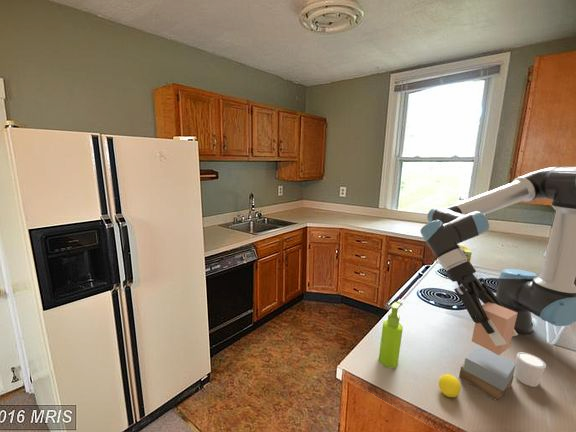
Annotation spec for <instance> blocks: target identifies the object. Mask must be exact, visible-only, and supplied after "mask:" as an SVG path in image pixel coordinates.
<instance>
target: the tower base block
mask: <svg viewBox="0 0 576 432" xmlns="http://www.w3.org/2000/svg"><path fill="white" fill-rule="evenodd" d="M463 368H464V364H463V365H461V366H460V370H459V376H458V377H459V378H460V379H462V380H463V381H465V382H467V383H468V384H470V385H471V386H473V387H475V388H476V389H477V390H479V391H481V392H482V393H484V394H486V395H487V396H489V397H490V398H492V399H493V400H495V401H499V399H500V398H501V397H502V396H503V395H504V394H505V393H506V392H507V391H508V390H509V389H510V388H511V387H512V385H513V380H514V377H515V374H513V376H512V378H511V380H510V381H509V383H508V385H507V387H506V388H505V390H504V391H502V390H500V389H498V388H497V387H495V386H493V385H491V384H489V383H487V382H485V381H484V380H482V379H480V378H478V377H476V376H474V375H473V374H471V373H469V372H467V371H465V370H463Z"/></svg>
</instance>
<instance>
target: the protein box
mask: <svg viewBox="0 0 576 432" xmlns="http://www.w3.org/2000/svg"><path fill="white" fill-rule="evenodd" d="M458 246H459V247H460V249H461V250H462V252H463V253H464V254H465V256H466V257H467V260H466V261H467V262H468V261H469V262H470V263H471V260H472V259H471V258H472V251H471V250H470V249H469V248H468V247H467V246H466V245H463V244H458ZM446 271H447V269H446ZM446 271H445V272H446Z"/></svg>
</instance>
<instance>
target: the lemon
mask: <svg viewBox="0 0 576 432" xmlns="http://www.w3.org/2000/svg"><path fill="white" fill-rule="evenodd" d="M461 387H462V386H461V383H460V380H459V379H458V378H457V377H456V376H454V375H453V374H449V373H446V374H442V375H441V376H440V377H439V380H438V388H439V390H440V392H441V393H442V394H443V395H444V396H446V397H448V398H456V397H458V396H459V395H460V393H461Z"/></svg>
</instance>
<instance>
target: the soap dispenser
mask: <svg viewBox="0 0 576 432" xmlns="http://www.w3.org/2000/svg"><path fill="white" fill-rule="evenodd" d="M401 306H403V303H402V302H400V301H395V302H393V303H392V304H391V305H390V309H391V312H389V313H388V316H387V319H386V320H384V321H383V323H382V327H381V329H382V331H381V336H380V337H381V339H380V346H379V353H378V354H379V355H378V361H379V363H380V364H381V365H383V366H384V367H387V368H391V369H392V368H396V367H397V366H398V365H399V357H400V351H401V349H400V348H401V342H402V335H403V329H404V327H403V325H402V324H401V323H400V320H401V319H400V318H401V317H400V314H398V310H399V308H400V307H401Z"/></svg>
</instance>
